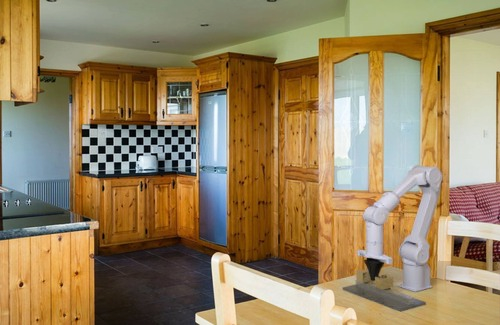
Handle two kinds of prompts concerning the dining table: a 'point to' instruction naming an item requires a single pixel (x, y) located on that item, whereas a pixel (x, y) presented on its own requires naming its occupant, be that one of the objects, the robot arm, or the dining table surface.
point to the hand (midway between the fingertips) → (374, 280)
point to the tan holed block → (384, 282)
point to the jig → (381, 293)
